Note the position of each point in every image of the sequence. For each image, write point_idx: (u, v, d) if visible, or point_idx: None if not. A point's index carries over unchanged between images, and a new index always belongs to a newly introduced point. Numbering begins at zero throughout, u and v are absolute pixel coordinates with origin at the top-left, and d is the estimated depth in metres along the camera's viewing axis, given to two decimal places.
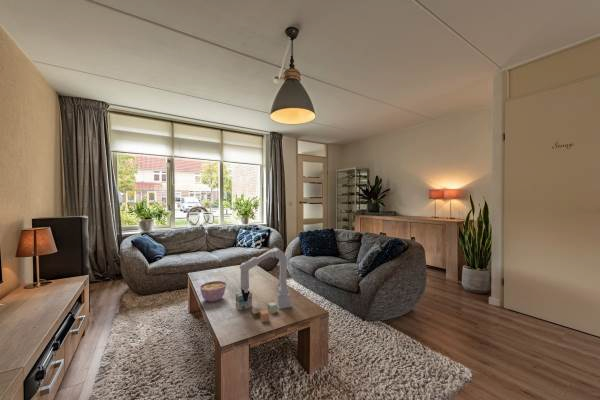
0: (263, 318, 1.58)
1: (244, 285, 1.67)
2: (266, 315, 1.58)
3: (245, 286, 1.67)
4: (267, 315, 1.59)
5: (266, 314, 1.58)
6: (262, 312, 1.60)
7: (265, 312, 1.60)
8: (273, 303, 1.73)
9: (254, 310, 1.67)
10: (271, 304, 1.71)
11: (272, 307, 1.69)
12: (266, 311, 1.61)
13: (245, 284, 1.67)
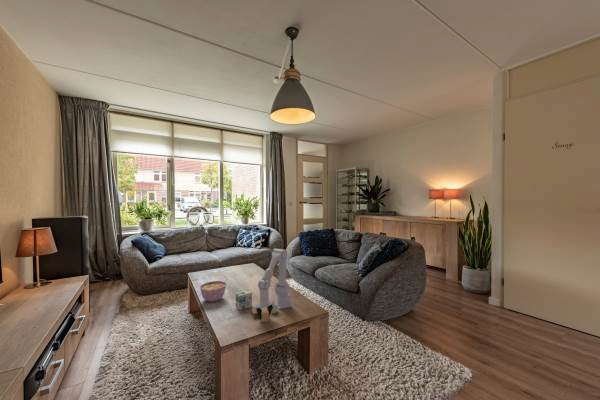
0: (263, 318, 1.58)
1: (260, 302, 1.59)
2: (266, 315, 1.58)
3: (260, 304, 1.59)
4: (267, 315, 1.59)
5: (266, 314, 1.58)
6: (262, 312, 1.60)
7: (265, 312, 1.60)
8: None
9: (254, 310, 1.67)
10: None
11: None
12: (266, 311, 1.61)
13: (260, 301, 1.59)
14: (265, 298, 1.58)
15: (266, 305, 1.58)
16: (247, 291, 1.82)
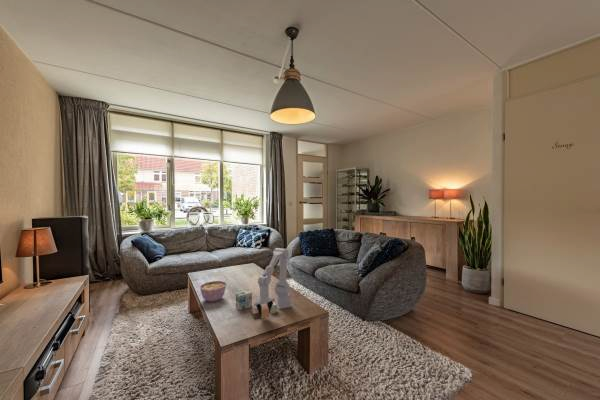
0: (263, 314, 1.58)
1: (260, 298, 1.59)
2: (266, 311, 1.58)
3: (260, 300, 1.59)
4: (267, 311, 1.59)
5: (266, 310, 1.58)
6: (262, 308, 1.60)
7: (265, 308, 1.60)
8: (273, 303, 1.73)
9: (254, 310, 1.67)
10: None
11: (272, 307, 1.69)
12: (266, 307, 1.61)
13: (260, 298, 1.59)
14: (265, 294, 1.58)
15: (266, 301, 1.58)
16: (247, 291, 1.82)
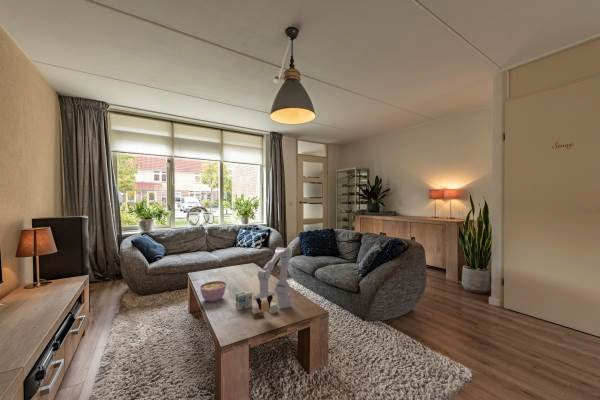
0: (263, 308, 1.58)
1: None
2: (266, 305, 1.59)
3: (260, 294, 1.59)
4: (267, 305, 1.59)
5: (266, 304, 1.59)
6: (262, 302, 1.60)
7: (265, 302, 1.60)
8: (273, 303, 1.73)
9: (254, 310, 1.67)
10: (271, 304, 1.71)
11: (272, 307, 1.69)
12: (266, 301, 1.61)
13: (260, 292, 1.59)
14: (265, 288, 1.58)
15: (266, 295, 1.58)
16: (247, 291, 1.82)
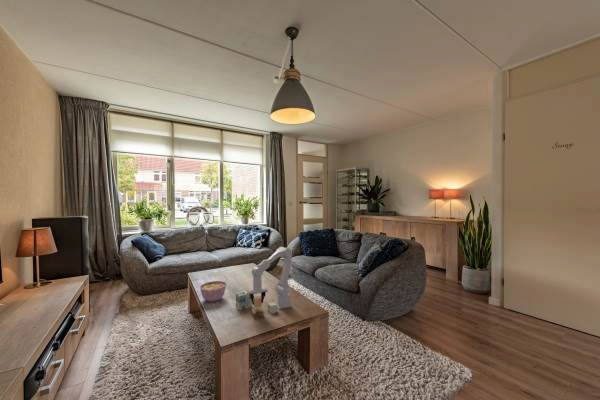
0: (255, 304, 1.64)
1: (253, 288, 1.67)
2: (258, 301, 1.65)
3: (253, 290, 1.66)
4: (259, 301, 1.65)
5: (258, 300, 1.65)
6: (255, 298, 1.67)
7: (258, 298, 1.66)
8: (273, 303, 1.73)
9: (254, 310, 1.67)
10: (271, 304, 1.71)
11: (272, 307, 1.69)
12: (259, 297, 1.67)
13: (253, 288, 1.66)
14: (256, 285, 1.64)
15: (258, 291, 1.64)
16: (247, 291, 1.82)
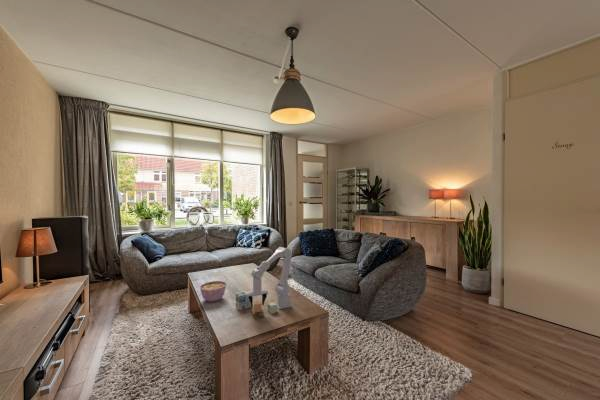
0: (255, 308, 1.65)
1: (253, 290, 1.67)
2: (258, 305, 1.65)
3: (253, 292, 1.66)
4: (259, 306, 1.65)
5: (258, 305, 1.65)
6: (255, 303, 1.67)
7: (258, 303, 1.66)
8: (273, 303, 1.73)
9: None
10: (271, 304, 1.71)
11: (272, 307, 1.69)
12: (259, 302, 1.68)
13: (253, 290, 1.66)
14: (256, 287, 1.64)
15: (258, 293, 1.65)
16: (247, 291, 1.82)
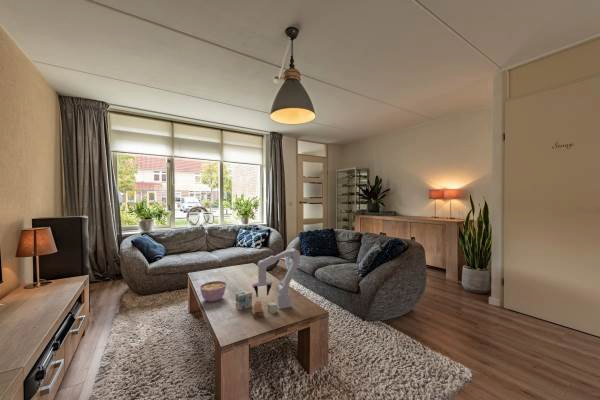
0: (256, 308, 1.65)
1: (258, 281, 1.74)
2: (259, 305, 1.65)
3: (258, 282, 1.73)
4: (260, 306, 1.65)
5: (259, 305, 1.65)
6: (255, 303, 1.67)
7: (258, 303, 1.66)
8: (273, 303, 1.73)
9: None
10: (271, 304, 1.71)
11: (272, 307, 1.69)
12: (259, 302, 1.68)
13: (258, 280, 1.73)
14: (260, 277, 1.72)
15: (263, 284, 1.72)
16: (247, 291, 1.82)
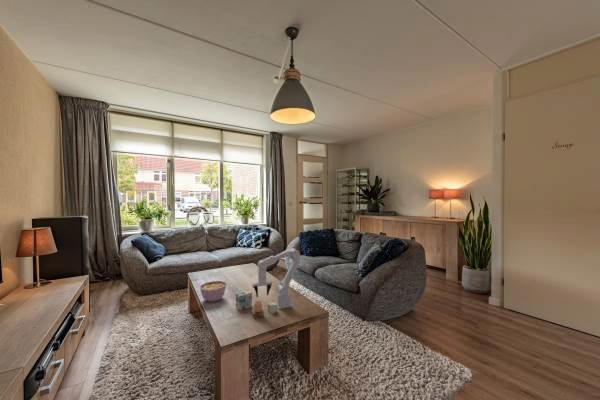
0: (255, 308, 1.65)
1: (258, 281, 1.74)
2: (258, 305, 1.65)
3: (258, 282, 1.73)
4: (259, 306, 1.65)
5: (258, 305, 1.65)
6: (255, 302, 1.67)
7: (258, 303, 1.66)
8: (273, 303, 1.73)
9: None
10: (271, 304, 1.71)
11: (272, 307, 1.69)
12: (260, 302, 1.68)
13: (258, 280, 1.73)
14: (260, 277, 1.72)
15: (263, 284, 1.72)
16: (247, 291, 1.82)
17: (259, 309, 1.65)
